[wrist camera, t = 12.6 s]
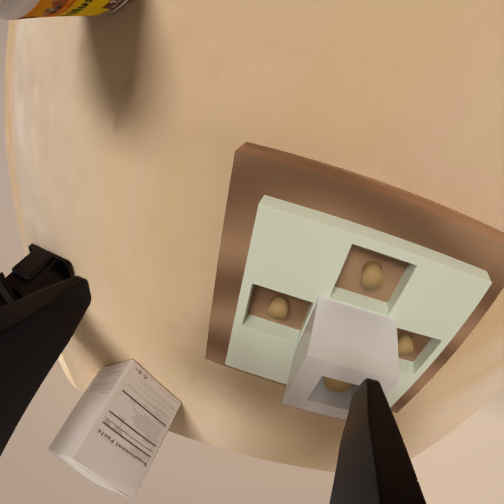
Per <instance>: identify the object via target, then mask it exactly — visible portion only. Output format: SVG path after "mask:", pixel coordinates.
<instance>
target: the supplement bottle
mask: <svg viewBox="0 0 504 504" xmlns="http://www.w3.org/2000/svg"><path fill="white" fill-rule="evenodd" d="M127 1H128V0H0V18H2V19H5V20H15V19H25V18H37V17H54V16H102V15H106V14H109V13H112V12H114V11H116V10H117V9H119V8H120V7H122V6H123V5H124V4H125V3H126V2H127Z"/></svg>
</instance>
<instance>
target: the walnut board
mask: <svg viewBox="0 0 504 504" xmlns="http://www.w3.org/2000/svg"><path fill="white" fill-rule="evenodd" d="M264 195H267V196H270V197H274V198H277V199H280V200H284V201H287V202H291V203H294V204H297V205H300V206H304V207H307V208H310V209H313V210H317V211H320V212H323V213H326V214H329V215H333V216H336V217H339V218H342V219H345V220H348V221H351V222H354V223H357V224H360V225H363V226H366V227H369V228H372V229H375V230H378V231H381V232H384V233H387V234H389V235H392V236H395V237H398V238H401V239H404V240H406V241H409V242H412V243H415V244H418V245H420V246H423V247H426V248H428V249H431V250H434V251H437V252H439V253H442V254H445V255H447V256H450V257H452V258H455V259H458V260H460V261H463V262H465V263H468V264H470V265H473V266H475V267H478V268H480V269H483V270H485V271H487V273H488V275H489V277H490V279H491V282H492V284H491V286H490V287H489V289H488V290H487V292H486V293H485V295H484V296H483V298H482V299H481V301H480V302H479V303H478V305H477V306H476V308H475V309H474V310H473V312H472V313H471V315H470V316H469V317H468V319H467V320H466V321H465V323H464V324H463V325H462V327H461V328H460V329H459V331H458V332H457V333H456V335H455V336H454V337H453V338H452V340H451V341H450V342H449V343H448V345H447V346H446V347H445V348H444V350H443V351H442V352H441V353H440V354H439V356H438V357H437V358H436V359H435V360H434V361H433V363H432V364H431V365H430V366H429V367H428V368H427V369H426V371H425V372H424V373H423V374H422V375H421V376H420V377H419V378H418V379H417V381H416V382H415V383H414V384H413V385H412V386H411V387H410V388H409V389H408V390H407V391H406V392H405V393H404V394H403V395H402V396H401V397H400V398H399V399H398V400H397V401H396V402H395V403H394V404H393V405H392V406H391V407H390V408H391V411H392V412H396V413H397V412H398V411H399V410H400V409H401V408H403V407H404V406H405V405H406V404H407V403H408V402H409V401H410V400H411V399H412V398H413V397H414V396H415V395H416V394H417V393H418V392H419V391H420V390H421V389H422V388H423V387H424V386H425V385H426V384H427V383H428V381H429V380H430V379H431V378H432V377H433V376H434V375H435V374H436V373H437V372H438V371H439V370H440V368H441V367H442V366H443V365H444V364H445V363H446V362H447V361H448V359H449V358H450V357H451V356H452V355H453V354H454V352H455V351H456V350H457V349H458V348H459V346H460V345H461V344H462V343H463V342H464V340H465V339H466V338H467V337H468V335H469V334H470V333H471V332H472V330H473V329H474V328H475V326H476V325H477V324H478V322H479V321H480V320H481V318H482V317H483V316H484V314H485V313H486V312H487V310H488V309H489V308H490V306H491V305H492V303H493V302H494V300H495V299H496V298H497V296H498V295H499V293H500V292H501V290H502V289H503V287H504V233H502V232H500V231H498V230H496V229H494V228H492V227H490V226H488V225H486V224H483V223H481V222H479V221H477V220H475V219H472V218H470V217H468V216H466V215H463V214H461V213H459V212H457V211H454V210H452V209H449V208H447V207H445V206H442V205H440V204H437V203H435V202H433V201H430V200H428V199H425V198H422V197H420V196H417V195H415V194H412V193H410V192H407V191H404V190H402V189H399V188H396V187H393V186H391V185H388V184H385V183H382V182H380V181H377V180H374V179H371V178H368V177H365V176H362V175H359V174H356V173H353V172H350V171H347V170H344V169H341V168H338V167H334V166H331V165H328V164H325V163H321V162H318V161H315V160H311V159H308V158H305V157H301V156H298V155H294V154H290V153H287V152H283V151H279V150H276V149H272V148H268V147H264V146H260V145H256V144H252V143H248V142H246V143H245V144H243V145H242V146H241V147H240V148H238V149H237V150H236V151H235V156H234V162H233V168H232V174H231V180H230V187H229V193H228V199H227V206H226V212H225V219H224V225H223V232H222V238H221V245H220V252H219V259H218V266H217V273H216V280H215V288H214V295H213V303H212V310H211V318H210V326H209V333H208V341H207V350H206V358H205V359H208V360H210V361H213V362H216V363H219V364H221V365H224V366H227V367H230V368H233V369H236V370H239V371H241V372H244V373H247V374H250V375H254V376H257V377H260V378H263V379H266V380H269V381H272V382H276V383H279V384H282V385H286V384H284V383H280V382H277V381H274V380H271V379H267V378H264V377H261V376H258V375H255V374H252V373H249V372H246V371H243V370H240V369H237V368H234V367H231V366H228V365H226V364H225V361H226V357H227V352H228V347H229V342H230V337H231V333H232V328H233V323H234V318H235V314H236V309H237V304H238V299H239V294H240V290H241V285H242V280H243V275H244V271H245V266H246V261H247V256H248V252H249V247H250V242H251V238H252V233H253V228H254V223H255V219H256V214H257V209H258V204H259V202H260V201H261V199H262V198H263V196H264ZM408 264H409V263H408V262H405V261H402V260H399V259H396V258H393V257H390V256H387V255H384V254H382V253H379V252H376V251H373V250H370V249H367V248H363V247H360V246H357V245H354V244H352V245H351V248H350V250H349V253H348V255H347V257H346V260H345V262H344V265H343V267H342V269H341V272H340V274H339V276H338V279H337V281H336V283H335V287H338V288H342V289H345V290H348V291H351V292H354V293H358V294H361V295H364V296H367V297H371V298H374V299H377V300H380V301H383V302H388V300H389V299H390V297H391V295H392V294H393V292H394V290H395V288H396V286H397V285H398V283H399V281H400V279H401V277H402V275H403V274H404V272H405V270H406V268H407V266H408ZM310 305H311V302H309V301H306V300H303V299H300V298H297V297H293V296H290V295H287V294H284V293H281V292H278V291H274V290H271V289H268V288H265V287H262V286H259V285H256V284H254V288H253V292H252V296H251V300H250V304H249V308H248V312H247V314H250V315H253V316H257V317H260V318H263V319H266V320H269V321H272V322H275V323H278V324H281V325H285V326H288V327H291V328H294V329H297V330H300V328H301V326H302V324H303V321H304V319H305V317H306V314H307V312H308V309H309V307H310ZM397 339H398V358H400V359H404V360H408V361H412V362H413V361H414V360H415V359H416V358H417V356H418V355H419V354H420V353H421V351H422V350H423V349H424V348H425V346H426V345H427V344H428V342H429V341H430V340H431V339H432V338H431V337H428V336H424V335H421V334H417V333H414V332H410V331H407V330H403V329H400V328H397ZM324 385H325V387H326V388H327V389H329V390H331V391H334V392H345V391H348V390H350V389H351V388H352V386H353V384H351V383H347V382H343V381H339V380H336V379H332V378H328V377H325V382H324Z"/></svg>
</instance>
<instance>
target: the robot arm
mask: <svg viewBox="0 0 504 504" xmlns="http://www.w3.org/2000/svg"><path fill="white" fill-rule="evenodd" d="M29 251H30V254H28V255H27V256H26V257H25V258H24V259H22V260H21V261H20V262H19V263H18V264H17V265H15V266H14V267H13V268H12V272H11V273H10V274H9V275H8V276H7V277H6V278H5V276H4V274H3V273H2V272H1V273H0V456H1V454H2V452H3V450H4V448H5V446H6V444H7V443H8V441H9V439H10V437H11V435H12V433H13V431H14V430H15V427H16V426H17V424H18V422H19V421H20V419H21V417H22V415H23V414H24V412H25V410H26V409H27V407H28V405H29V403H30V402H31V400H32V398H33V397H34V395H35V393H36V392H37V390H38V388H39V387H40V385H41V384H42V382H43V381H44V379H45V377H46V376H47V374H48V373H49V371H50V370H51V368H52V366H53V365H54V363H55V362H56V360H57V359H58V357H59V356H60V354H61V353H62V351H63V350H64V348H65V347H66V345H67V344H68V342H69V341H70V339H71V337H72V336H73V334H74V332H75V330H76V328H77V326H78V325H79V323H80V321H81V319H82V317H83V316H84V314H85V312H86V310H87V308H88V307H89V305H90V302H91V294H90V289H89V284H88V281H87V280H86V279H84V278H82V277H80V276H74V277H73V274H72V270H71V265H70V263H69V262H68V261H67V260H66V259H64V258H61V257H59V256H57V255H55V254H53V253H51V252H49V251H46V250H44V249H42V248H40V247H38V246H36V245H34V244H31V245H30V246H29ZM330 504H426V502H425V499H424V496H423V493H422V491H421V488H420V485H419V482H417V477H416V474H415V471H414V469H413V466H412V463H411V460H410V457H409V455H408V452H407V449H406V447H405V444H404V441H403V439H402V436H401V434H400V431H399V429H398V426H397V423H396V421H395V418H394V416H393V413H392V411H391V408H390V406H389V404H388V401H387V399H386V396H385V394H384V391H383V389H382V387H381V384H380V382H379V381H377V380H374V379H370V378H366V379H364V380H363V382H362V383H361V384H360V385H359V387H358V388H357V389H356V390H355V392H354V394H353V396H352V399H351V403H350V407H349V411H348V415H347V419H346V423H345V427H344V431H343V435H342V439H341V443H340V448H339V454H338V461H337V467H336V472H335V478H334V483H333V489H332V494H331V499H330Z"/></svg>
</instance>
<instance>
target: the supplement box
mask: <svg viewBox="0 0 504 504" xmlns="http://www.w3.org/2000/svg"><path fill="white" fill-rule="evenodd" d="M180 405H181V402H180V401H179V400H178V399H177V398H176V397H174V396H173V395H172V394H171V393H170V392H169V391H168V390H166V389H165V388H164V387H163V386H162V385H161V384H160V383H159V382H157V381H156V380H155V379H154V378H153V377H152V376H151V375H150V374H149V373H148V372H146V371H145V370H144V369H143V368H142V367H141V366H140V365H139V364H138V363H137V362H136V361H135V360H129V361H126V362H122V363H118V364H114V365H110V366H106V367H102V368H101V369H100V371H99V372H98V374H97V375H96V377H95V378H94V379H93V381H92V382H91V384H90V385H89V387H88V388H87V390H86V391H85V393H84V394H83V396H82V397H81V399H80V400H79V402H78V403H77V405H76V406H75V408H74V409H73V411H72V412H71V414H70V415H69V417H68V418H67V420H66V421H65V423H64V425H63V426H62V428H61V429H60V431H59V432H58V434H57V435H56V437H55V439H54V440H53V442H52V443H51V445H50V446H49V448H48V450H49V451H50V452H51V453H53V454H54V455H55V456H57V457H58V458H59V459H61V460H62V461H64V462H65V463H67V464H68V465H69V466H71V467H72V468H73V469H75V470H76V471H78V472H79V473H81V474H82V475H83V476H85V477H86V478H88V479H89V480H91V481H92V482H94V483H96V484H98V485H99V486H102V487H104V488H106V489H109V490H111V491H114V492H116V493H119V494H121V495H123V496H126V497H129V498H131V499H134V498H135V496H136V494H137V492H138V490H139V488H140V486H141V484H142V481H143V480H144V478H145V476H146V474H147V472H148V470H149V468H150V466H151V463H152V462H153V460H154V458H155V455H156V454H157V452H158V450H159V448H160V445H161V443H162V442H163V440H164V437H165V435H166V433H167V432H168V430H169V427H170V425H171V423H172V421H173V419H174V417H175V415H176V413H177V411H178V409H179V407H180Z"/></svg>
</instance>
